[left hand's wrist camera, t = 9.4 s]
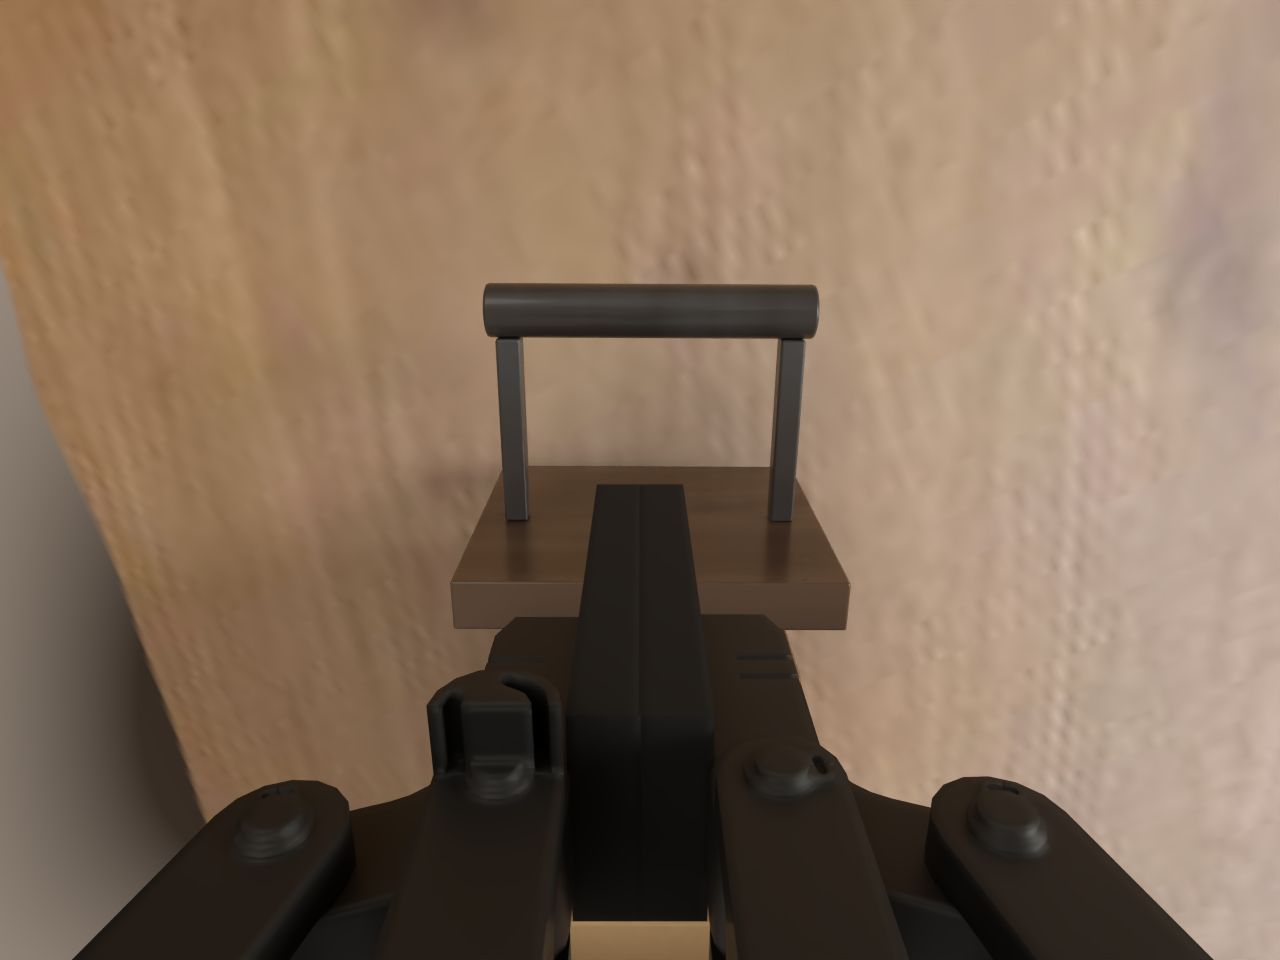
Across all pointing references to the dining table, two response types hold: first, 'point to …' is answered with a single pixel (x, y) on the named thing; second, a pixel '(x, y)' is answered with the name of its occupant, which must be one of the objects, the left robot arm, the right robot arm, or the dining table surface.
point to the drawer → (715, 496)
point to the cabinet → (640, 940)
